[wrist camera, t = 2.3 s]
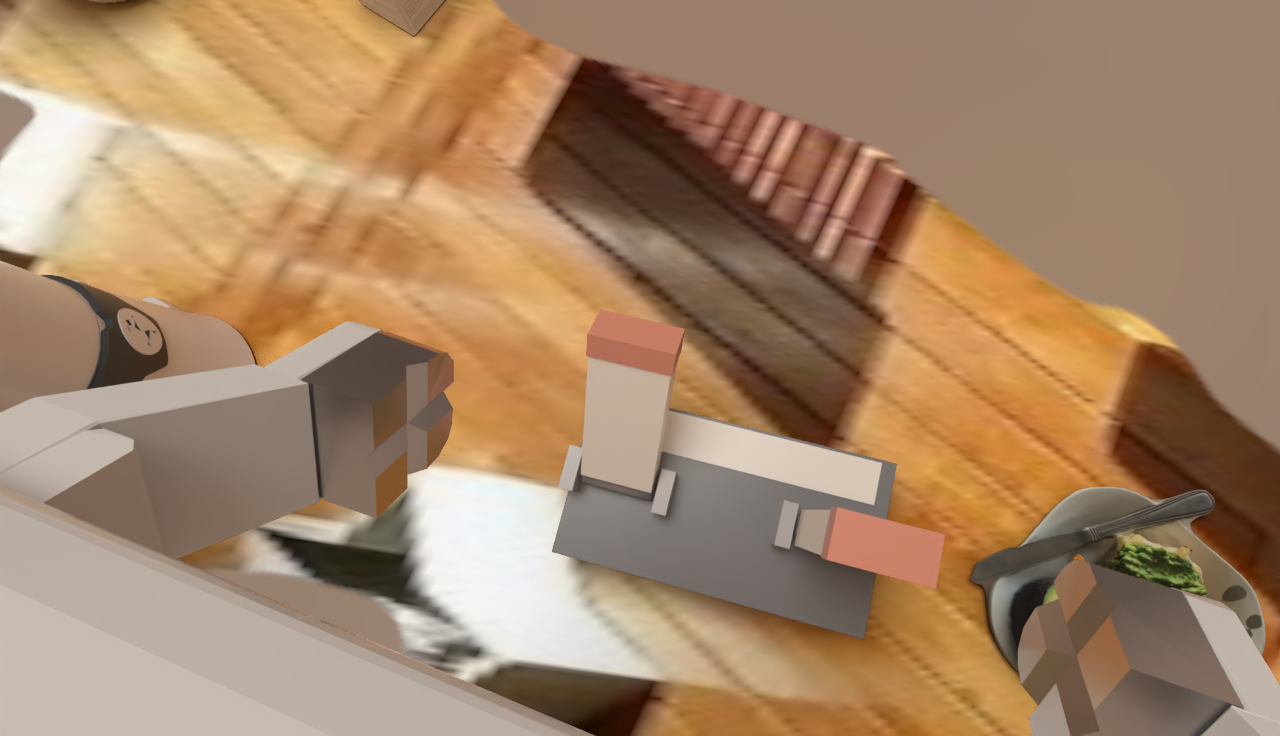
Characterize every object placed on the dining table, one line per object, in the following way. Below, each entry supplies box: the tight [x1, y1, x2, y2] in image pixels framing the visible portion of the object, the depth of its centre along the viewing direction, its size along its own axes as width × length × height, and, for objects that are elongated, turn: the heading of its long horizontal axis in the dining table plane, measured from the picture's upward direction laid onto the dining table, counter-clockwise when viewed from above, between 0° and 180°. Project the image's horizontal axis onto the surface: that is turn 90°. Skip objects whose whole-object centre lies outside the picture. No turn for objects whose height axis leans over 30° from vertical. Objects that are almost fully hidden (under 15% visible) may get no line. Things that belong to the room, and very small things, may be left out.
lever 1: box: [581, 310, 685, 501], centre depth 43 cm, size 3×5×14 cm
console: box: [552, 408, 897, 639], centre depth 49 cm, size 12×23×8 cm, turn 75°
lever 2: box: [793, 507, 945, 589], centre depth 39 cm, size 3×5×14 cm, turn 75°
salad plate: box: [970, 487, 1266, 673], centre depth 48 cm, size 19×18×5 cm
